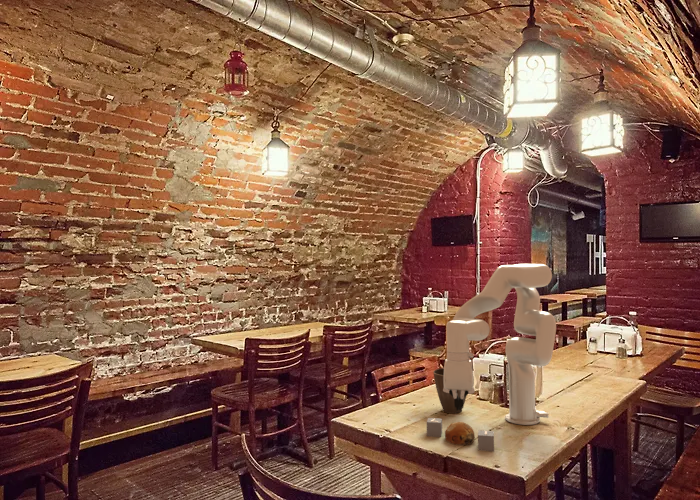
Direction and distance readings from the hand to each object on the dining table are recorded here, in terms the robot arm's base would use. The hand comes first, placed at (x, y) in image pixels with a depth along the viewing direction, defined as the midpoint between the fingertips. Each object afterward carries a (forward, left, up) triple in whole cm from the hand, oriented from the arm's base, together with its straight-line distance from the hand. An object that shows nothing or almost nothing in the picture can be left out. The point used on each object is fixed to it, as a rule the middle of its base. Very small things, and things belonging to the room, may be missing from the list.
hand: (459, 409), depth 183 cm
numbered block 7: (+9, -4, -11) cm, 14 cm away
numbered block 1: (-9, +6, -11) cm, 15 cm away
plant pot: (+5, -34, -11) cm, 36 cm away
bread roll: (0, +1, -11) cm, 11 cm away
